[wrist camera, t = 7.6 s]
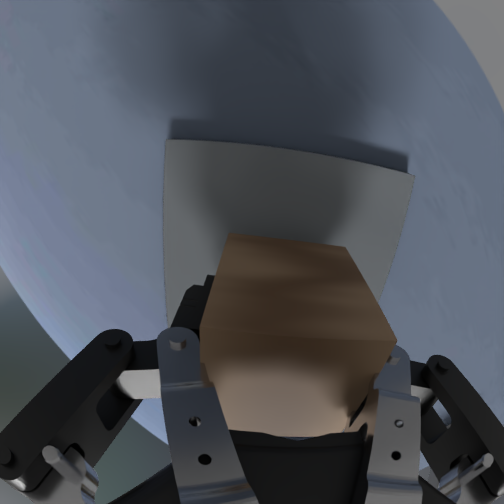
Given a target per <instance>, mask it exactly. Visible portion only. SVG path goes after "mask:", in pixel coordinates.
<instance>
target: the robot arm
mask: <svg viewBox="0 0 504 504" xmlns="http://www.w3.org/2000/svg"><path fill="white" fill-rule="evenodd" d="M214 278H215V275H207V277H206V280H205V282H204V285H203V286H202V285H192V286H191V287H190V288H189V289H187V290H186V292H185V294H184V296H183V300H182V301H181V303H180V306H179V308H178V310H177V312H176V315H175V317H174V319H173V322H172V324H171V326H170V328H168V329H165V330H164V331H162V332H161V333H160V334H159V335H158V337H157V339H155V340H150V341H133V339H132V337H131V335H130V334H129V333H127V332H126V331H123V330H119V329H110V330H106V331H104V332H102V333H100V334H99V335H98V336H96V337H95V338H94V339H93V340H92V341H91V342H90V343H89V344H88V345H87V346H86V347H85V348H84V349H83V350H82V351H81V352H80V353H78V354H77V355H76V356H75V357H74V358H73V359H72V360H71V361H70V362H69V363H68V364H67V365H66V366H65V367H64V368H63V369H62V370H61V371H60V372H59V373H58V374H57V375H56V376H55V377H54V378H53V379H52V380H51V381H50V382H49V383H48V384H47V385H46V386H45V387H44V388H43V389H42V390H41V391H40V392H39V393H38V394H37V395H36V396H35V397H34V398H33V399H32V400H31V401H30V402H29V403H28V404H27V405H26V406H25V407H24V408H23V409H22V410H21V412H19V414H18V415H17V416H16V417H15V418H14V419H13V420H12V421H11V422H10V423H9V424H8V425H7V426H6V428H5V429H4V430H3V431H2V432H1V433H0V478H1V479H2V480H4V481H5V482H7V483H8V484H9V485H10V486H11V487H13V488H14V489H15V490H16V491H18V492H20V493H21V494H23V495H24V496H26V497H27V498H29V499H30V500H31V501H32V502H34V503H35V504H95V501H94V496H95V492H96V490H97V488H98V483H99V481H98V476H97V473H96V471H95V470H94V469H93V468H94V466H95V465H96V463H97V462H98V461H99V459H100V458H101V457H102V455H103V454H104V452H105V451H106V450H107V448H108V447H109V445H110V444H111V443H112V441H113V440H114V439H115V437H116V436H117V434H118V433H119V432H120V430H121V429H122V428H123V426H124V425H125V424H126V422H127V421H128V419H129V418H130V417H131V415H132V414H133V413H134V411H135V410H136V409H137V407H138V406H139V404H140V403H141V402H142V400H143V399H147V398H161V399H162V407H163V414H164V420H165V427H166V433H167V439H168V444H169V449H170V454H171V460H172V463H170V464H169V465H167V466H166V467H165V468H163V469H162V470H160V471H159V472H157V473H156V474H154V475H153V476H152V477H150V478H149V479H147V480H146V481H144V482H143V483H141V484H139V485H138V486H136V487H135V488H133V489H132V490H130V491H128V492H127V493H125V494H123V495H122V496H120V497H118V498H117V499H115V500H113V501H112V502H110V503H108V504H491V503H492V502H493V501H494V500H496V499H497V498H499V497H500V496H502V495H504V427H503V426H502V424H501V423H500V421H499V420H498V419H497V417H496V416H495V415H494V413H493V412H492V411H491V409H490V408H489V407H488V405H487V404H486V403H485V402H484V400H483V399H482V398H481V396H480V395H479V394H478V393H477V391H476V390H475V389H474V388H473V386H472V385H471V384H470V383H469V382H468V380H467V379H466V378H465V377H464V375H463V374H462V373H461V372H460V371H459V369H458V368H457V367H456V366H455V365H454V364H453V362H452V361H451V360H449V359H448V358H446V357H444V356H441V355H433V356H431V357H430V358H429V359H428V361H427V363H426V364H424V363H419V362H415V361H411V360H410V358H409V355H408V354H407V352H406V351H405V350H404V349H402V348H401V347H399V346H397V345H395V346H394V348H393V350H392V352H391V354H390V356H389V358H388V359H387V361H386V363H385V365H384V367H383V368H382V370H381V372H380V373H374V375H373V377H372V379H371V380H370V382H369V388H368V394H367V395H366V397H365V399H364V400H363V402H362V403H361V405H360V406H359V408H358V409H357V411H351V413H350V415H349V416H348V418H347V422H346V426H345V430H344V432H342V433H329V434H325V435H322V436H318V437H314V438H310V439H305V440H301V441H295V440H291V439H286V438H282V437H278V436H274V435H270V434H267V433H263V432H251V431H240V430H230V429H228V426H227V423H226V420H225V417H224V414H223V411H222V408H221V405H220V401H219V398H218V395H217V392H216V388H215V385H214V383H213V382H212V381H211V382H210V381H209V377H208V374H207V370H206V366H205V363H201V362H200V324H201V320H202V317H203V314H204V310H205V307H206V304H207V300H208V297H209V294H210V291H211V287H212V284H213V281H214ZM438 399H439V401H440V402H441V403H442V405H443V406H444V408H445V409H446V410H447V412H448V413H449V415H450V416H451V420H452V423H451V426H450V427H449V428H448V429H447V427H446V426H445V424H444V423H443V421H442V420H441V418H440V417H439V416H438V414H437V413H436V411H435V410H434V408H433V407H432V406H433V405H434V404H435V403H436V401H437V400H438ZM420 450H421V452H422V453H423V455H424V457H425V459H426V460H427V462H428V464H429V465H430V467H431V469H432V471H433V472H434V474H435V476H436V478H437V479H438V481H439V488H438V489H436V488H435V487H433V486H432V485H431V484H430V483H428V482H427V481H426V480H424V479H423V478H422V477H421V476H419V475H418V473H419V460H420Z"/></svg>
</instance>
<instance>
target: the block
mask: <svg viewBox="0 0 504 504" xmlns="http://www.w3.org/2000/svg"><path fill="white" fill-rule="evenodd" d="M396 342H397V339H396V337H395V335H394V333H393V331H392V329H391V327H390V325H389V323H388V321H387V319H386V317H385V315H384V314H383V312H382V310H381V308H380V306H379V304H378V302H377V301H376V299H375V297H374V295H373V293H372V292H371V290H370V288H369V286H368V285H367V283H366V281H365V279H364V278H363V276H362V274H361V272H360V271H359V269H358V267H357V265H356V264H355V262H354V260H353V259H352V257H351V255H350V254H349V252H348V250H347V249H346V247H343V246H335V245H328V244H320V243H312V242H304V241H295V240H287V239H279V238H271V237H262V236H253V235H245V234H236V233H229V234H228V237H227V240H226V243H225V246H224V249H223V252H222V256H221V259H220V262H219V265H218V268H217V271H216V275H215V278H214V281H213V284H212V287H211V291H210V294H209V297H208V300H207V304H206V307H205V310H204V314H203V317H202V320H201V324H200V362H201V363H205V366H206V370H207V374H208V377H209V381H210V382H211V381H212V382H213V383H214V385H215V388H216V392H217V395H218V398H219V401H220V405H221V408H222V411H223V414H224V417H225V420H226V423H227V426H228V429H230V430H240V431H251V432H263V433H267V434H270V435H274V436H287V437H317V436H322V435H325V434H329V433H341V432H342V431H343V430H344V428H345V426H346V422H347V418H348V416H349V415H350V413H351V411H357V409H358V408H359V406H360V405H361V403H362V402H363V400H364V399H365V397H366V395H367V394H368V388H369V382H370V380H371V379H372V377H373V375H374V373H380V372H381V370H382V368H383V367H384V365H385V363H386V361H387V359H388V358H389V356H390V354H391V352H392V350H393V348H394V346H395V344H396Z"/></svg>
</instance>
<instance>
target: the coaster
mask: <svg viewBox="0 0 504 504" xmlns="http://www.w3.org/2000/svg"><path fill="white" fill-rule="evenodd" d="M414 179H415V176H414V175H412V174H409V173H406V172H402V171H398V170H395V169H391V168H387V167H382V166H378V165H374V164H370V163H365V162H361V161H356V160H351V159H346V158H341V157H336V156H331V155H325V154H319V153H314V152H307V151H301V150H295V149H288V148H280V147H273V146H265V145H256V144H246V143H236V142H224V141H210V140H193V139H166V145H165V164H164V196H163V241H164V273H165V293H166V308H167V321H168V328H170V326H171V324H172V322H173V319H174V317H175V315H176V312H177V310H178V308H179V306H180V303H181V301H182V300H183V296H184V294H185V292H186V290H187V289H189V288H190V287H191V286H192V285H202V286H203V285H204V282H205V280H206V277H207V275H216V271H217V268H218V265H219V262H220V259H221V256H222V252H223V249H224V246H225V243H226V240H227V237H228V234H229V233H236V234H245V235H253V236H262V237H271V238H279V239H287V240H295V241H304V242H312V243H320V244H328V245H335V246H343V247H346V249H347V250H348V252H349V254H350V255H351V257H352V259H353V260H354V262H355V264H356V265H357V267H358V269H359V271H360V272H361V274H362V276H363V278H364V279H365V281H366V283H367V285H368V286H369V288H370V290H371V292H372V293H373V295H374V297H375V299H376V301H377V302H379V299H380V297H381V294H382V291H383V288H384V285H385V283H386V280H387V277H388V274H389V271H390V268H391V265H392V262H393V259H394V256H395V252H396V249H397V246H398V242H399V239H400V236H401V232H402V228H403V225H404V221H405V217H406V213H407V209H408V205H409V201H410V197H411V193H412V188H413V183H414Z"/></svg>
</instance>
